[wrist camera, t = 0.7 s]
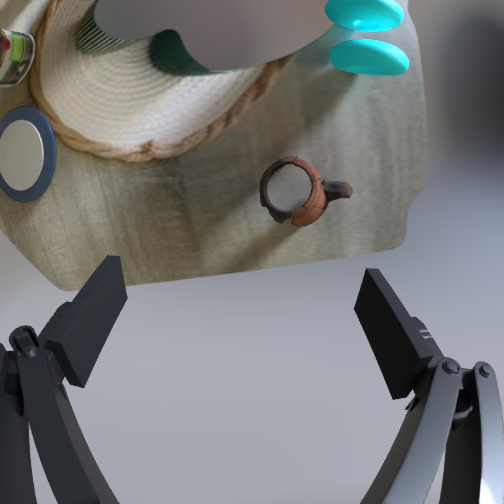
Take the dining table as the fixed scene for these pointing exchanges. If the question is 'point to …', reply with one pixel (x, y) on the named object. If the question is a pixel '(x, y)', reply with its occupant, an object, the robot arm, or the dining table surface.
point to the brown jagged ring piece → (316, 200)
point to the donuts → (367, 51)
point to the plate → (26, 153)
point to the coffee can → (15, 57)
